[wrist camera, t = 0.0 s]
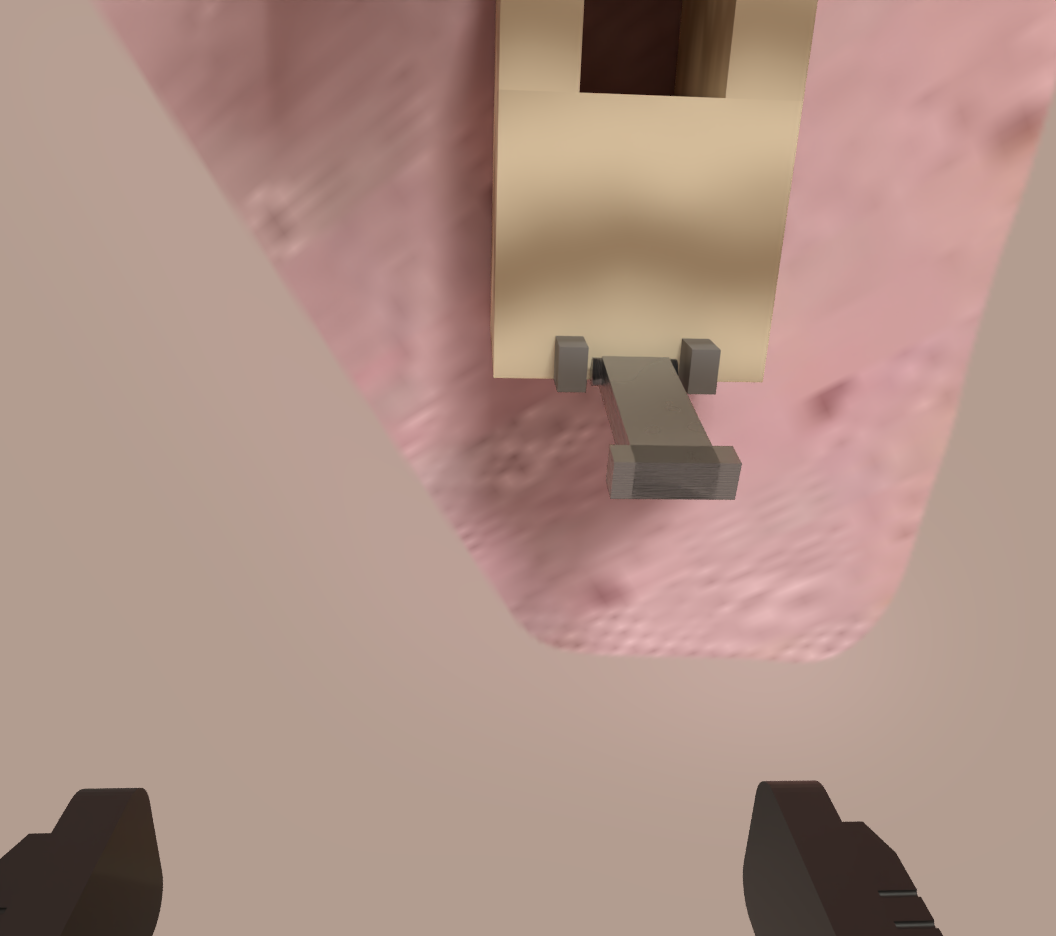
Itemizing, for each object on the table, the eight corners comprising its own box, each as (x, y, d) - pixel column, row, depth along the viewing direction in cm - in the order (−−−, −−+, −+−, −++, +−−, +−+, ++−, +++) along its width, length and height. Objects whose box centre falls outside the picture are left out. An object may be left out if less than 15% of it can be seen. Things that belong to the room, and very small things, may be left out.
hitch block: (497, -90, 32) (505, -167, 23) (755, -76, 33) (858, -147, 24) (490, 327, 38) (494, 391, 29) (708, 331, 39) (776, 395, 30)
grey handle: (614, 462, 24) (610, 498, 24) (741, 463, 24) (734, 499, 24) (583, 350, 30) (581, 380, 31) (682, 352, 31) (678, 382, 31)
